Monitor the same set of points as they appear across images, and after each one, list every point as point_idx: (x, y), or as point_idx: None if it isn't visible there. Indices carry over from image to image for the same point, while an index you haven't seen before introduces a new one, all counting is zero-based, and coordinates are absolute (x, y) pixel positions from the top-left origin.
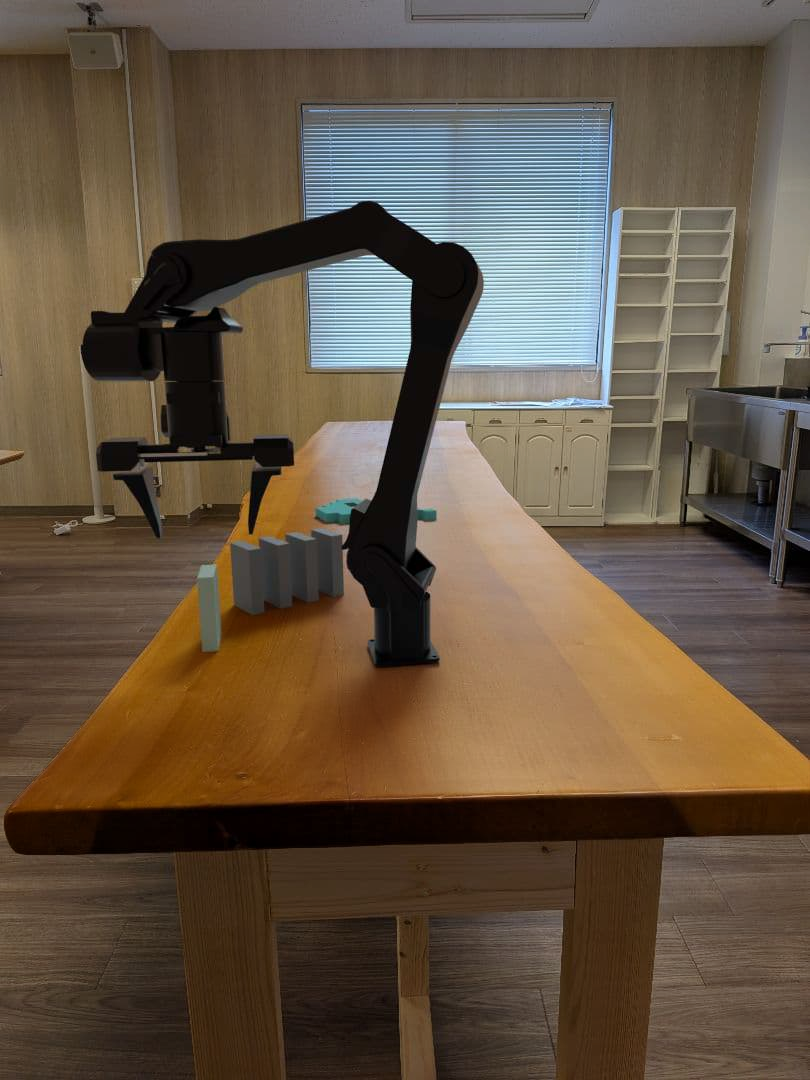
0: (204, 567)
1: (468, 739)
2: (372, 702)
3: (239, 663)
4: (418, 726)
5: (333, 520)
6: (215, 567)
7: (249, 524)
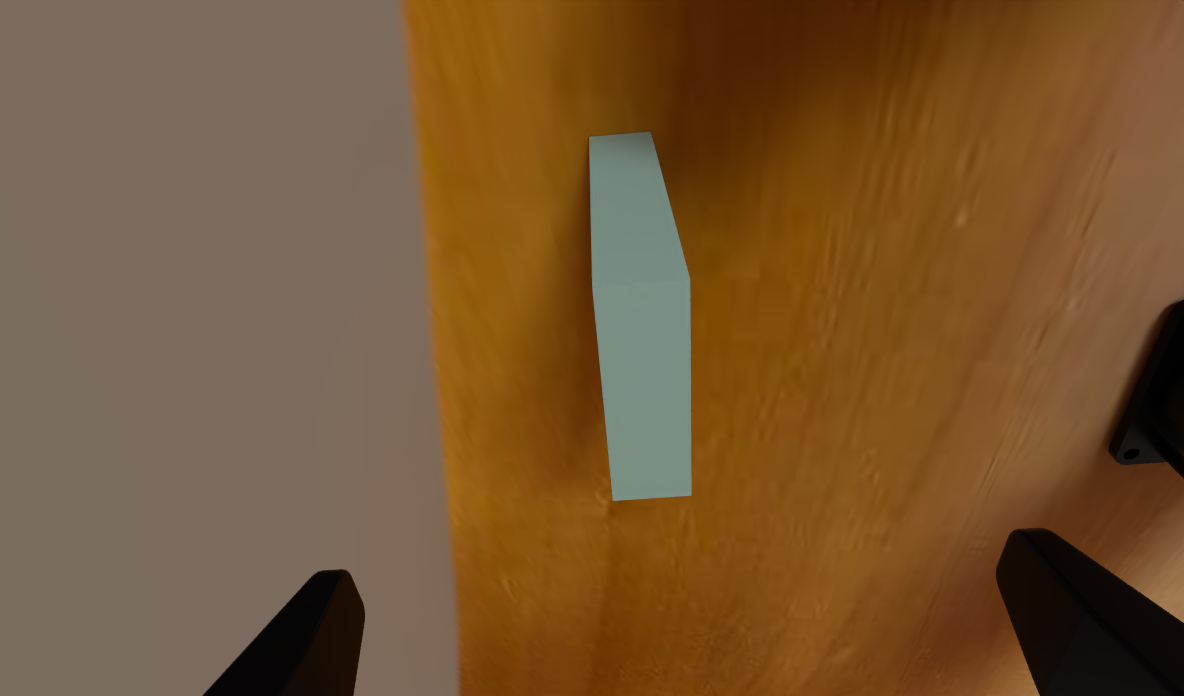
0: (619, 335)
1: None
2: None
3: (730, 390)
4: None
5: None
6: (688, 345)
7: (1039, 673)
